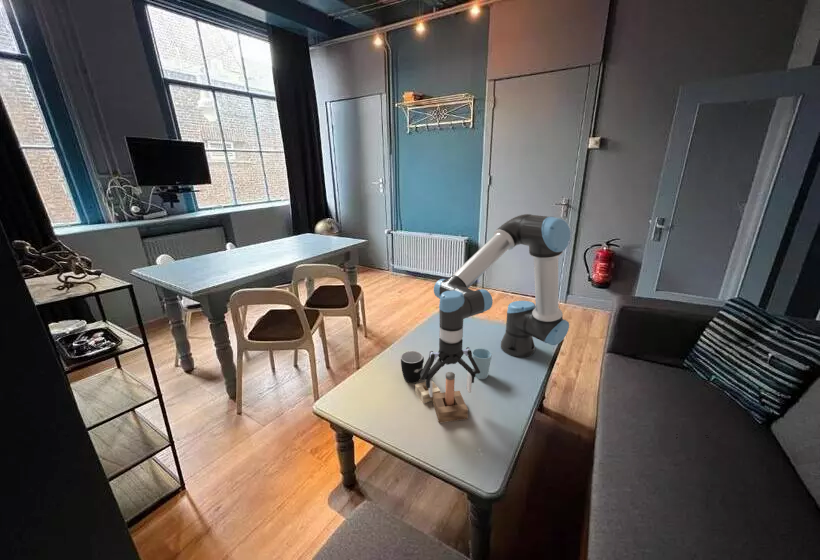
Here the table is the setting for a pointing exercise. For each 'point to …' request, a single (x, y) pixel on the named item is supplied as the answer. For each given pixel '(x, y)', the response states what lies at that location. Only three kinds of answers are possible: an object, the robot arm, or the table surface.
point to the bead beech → (425, 391)
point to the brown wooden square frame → (450, 408)
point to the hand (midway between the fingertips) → (449, 392)
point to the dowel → (449, 389)
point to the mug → (412, 365)
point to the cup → (482, 362)
